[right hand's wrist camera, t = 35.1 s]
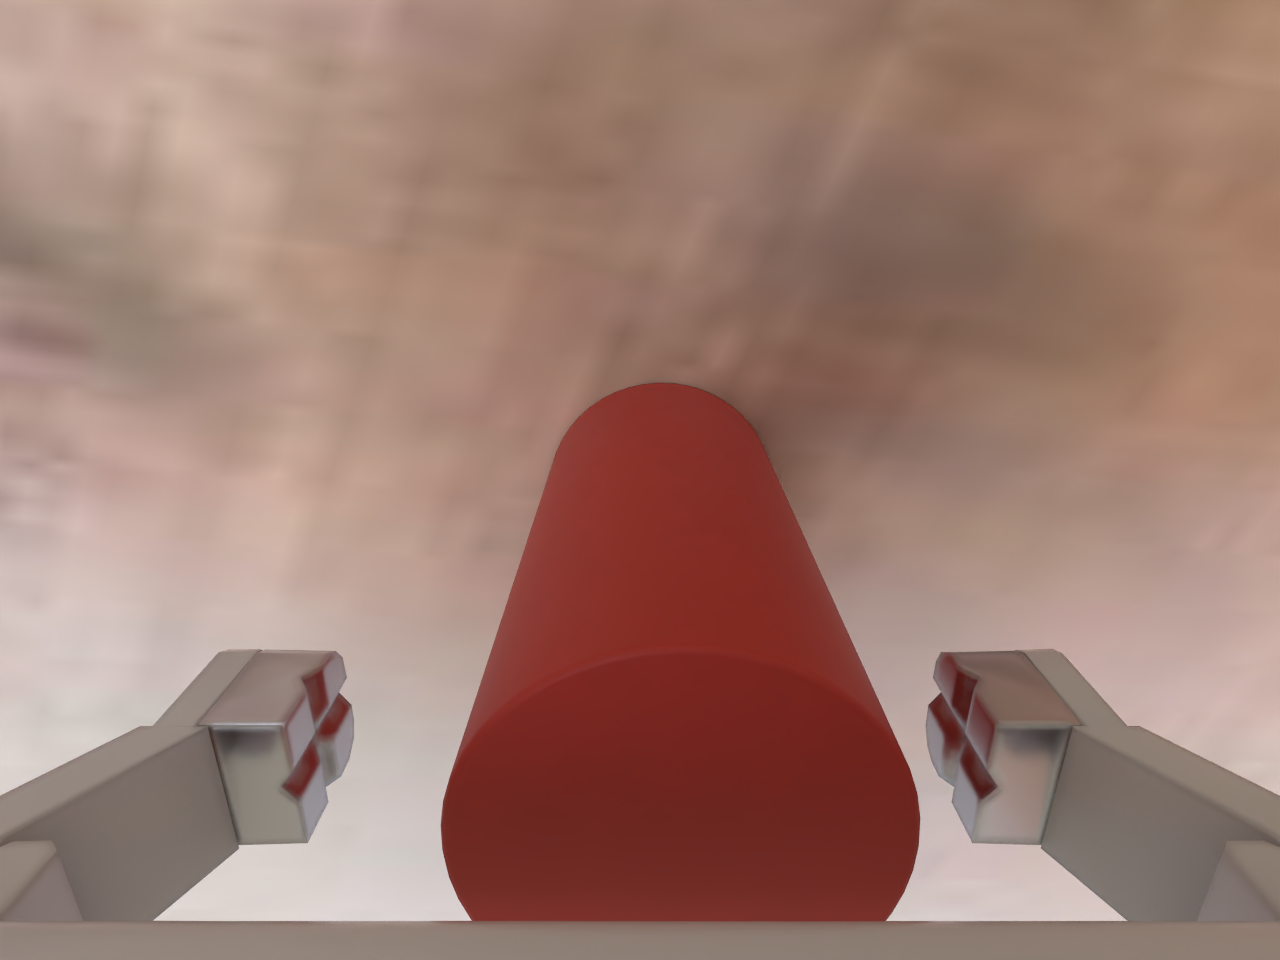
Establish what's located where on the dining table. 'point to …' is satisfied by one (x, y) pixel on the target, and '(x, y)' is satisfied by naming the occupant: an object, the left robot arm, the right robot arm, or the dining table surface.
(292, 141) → the dining table surface
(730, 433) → the cylinder
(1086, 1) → the dining table surface
